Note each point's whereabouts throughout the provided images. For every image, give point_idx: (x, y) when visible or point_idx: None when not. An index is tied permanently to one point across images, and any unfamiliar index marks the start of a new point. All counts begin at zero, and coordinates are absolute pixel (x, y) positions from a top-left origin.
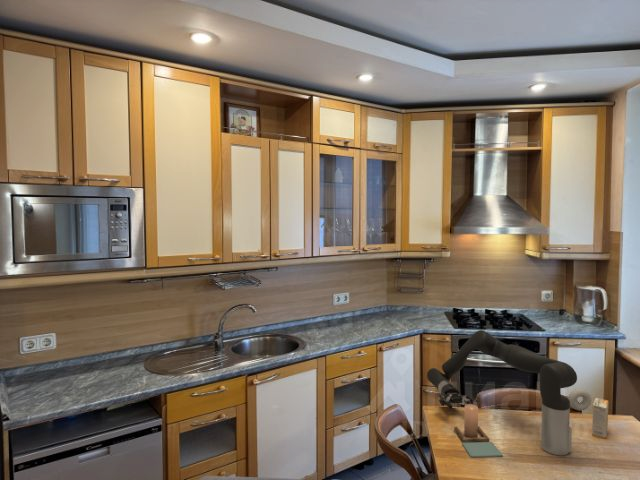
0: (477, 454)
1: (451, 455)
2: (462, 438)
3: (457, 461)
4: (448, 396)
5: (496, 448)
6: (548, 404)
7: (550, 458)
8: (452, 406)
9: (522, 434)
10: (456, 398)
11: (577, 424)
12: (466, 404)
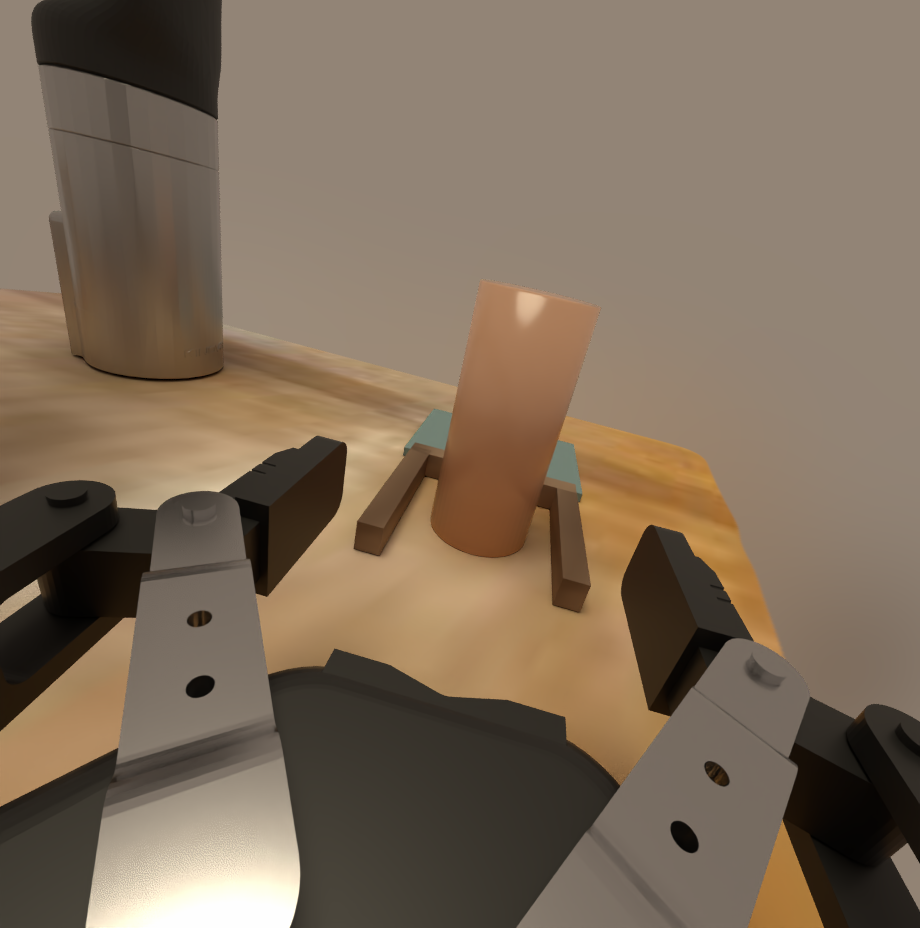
0: None
1: (656, 481)
2: (575, 490)
3: (636, 459)
4: (759, 819)
5: (425, 426)
6: (216, 96)
7: (260, 363)
8: (641, 537)
9: (115, 427)
10: (428, 703)
11: None
12: (568, 302)
